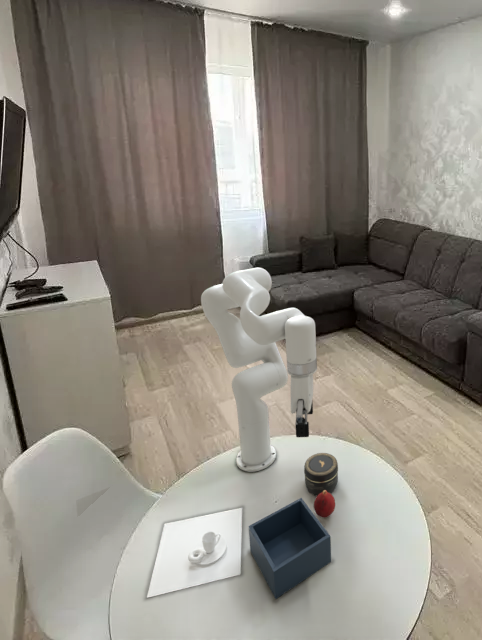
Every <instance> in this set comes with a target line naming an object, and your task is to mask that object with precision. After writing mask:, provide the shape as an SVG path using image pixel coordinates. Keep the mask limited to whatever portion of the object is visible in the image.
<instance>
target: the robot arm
mask: <svg viewBox="0 0 482 640" xmlns="http://www.w3.org/2000/svg"><path fill="white" fill-rule="evenodd" d="M272 284H273V280H272V277H271V274H270V272H268V271H267V270H266V269H264V268H263V267H252V268H247V269H242V270H236V271H233V272H231V273H228V274H227V275H226V276H225V277H224V278H223V280H222V283H221V284H217V285H216V284H215V285H213V286H210V287H208V288H206V289H205V290H204V291H203V292H202V293H201V296H200V303H201V308H202V311H203V313H204V315H205V318H206V320H207V321H208V322H209V323H210V324H211V326H212V327H213V329H214V330H215V332H216V334H217V337H218V340H219V343H220V345H221V348H222V351H223V355H224V357H225V359H226V361H227V363H228V365H229V366H230V367H231V368H232V369H233V368H235V369H238V368H242V367H245V366H246V367H247V366H249V365H251V364H254V363H257V362H259V361H262V363H261V364H258V365H254V366H251V367H249V368H246V369H244V370H241V371H240V372H238V373H237V374H235V376H233V378H232V381H231V388H232V393H233V397H234V400H235V406H236V413H237V414H236V415H237V422H238V423H237V424H238V436H239V445H240V446H239V448H240V451H238V453H237V455H236V459H235V461H236V462H235V463H236V466H237V467H238V468H239V470H241V471H245V472H250V473H252V472H253V473H254V472H260V471H262V470H264V469H267V468H268V467H269V466H271V465H272V464H273V463H274V462H275V460H276V459H277V451H276V447H274V446H273V445H272V444H271V429H270V428H271V427H270V426H271V425H270V413H269V412H270V411H269V407H268V405H267V404H268V403H266V402H265V401H264V400H263V399H262V398H263V397H264V396H267V395H268V394H271V393H273V392H276V391H278V390H281V389H282V388H284V387H285V386H286V385H287V384H288V381H289V376H290V385H289V386H290V387H289V388H290V389H289V390H290V413H291V414H295V437H296V438H309V436H310V426H309V425H310V423H309V421H308V415H313V413H314V403H313V402H314V401H313V399H314V398H313V397H314V374H315V373H316V372H317V371H318V359H317V358H318V357H317V336H316V334H317V333H316V322H315V320H314V318H312V317H311V316H307V315H305V314H304V313H303V312H302V311H301V310H300V309H298V308H296V307H288V308H284V309H280V310H276V311H273V312H270V313H267V314H263V313H264V312H265V311H266V309H267V308H268V306H269V305H270V302H271V295H270V293H269V292H270V290H271V289H272V286H273V285H272ZM235 308H240V311H239V317H238V316H237V315H235V314H234V313H233V312H230V311H228V310H232V309H235ZM262 314H263V315H262ZM283 340H285V351H286V352H285V354H286V365H285V362H284V360H283V357H282V355H281V353H280V351H279V348H278V345H277V342H281V341H283ZM288 375H289V376H288Z"/></svg>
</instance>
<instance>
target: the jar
mask: <svg viewBox="0 0 482 640" xmlns="http://www.w3.org/2000/svg"><path fill="white" fill-rule="evenodd" d="M303 472H304V485H305V488H306V490H307V491H308V493H309V494H311V496H315V497H317V496H318V495H319V494H320V493H322V492H323V491H324V490H326V491H327V492H328V493H330V494H332V493H333V492H334V491H335V489H336V488H337V485H338V482H339V481H338V480H339V476H338V475H339V463H338V460H337V458H336V457H335V456H334V455H333V454H331V453H327V452H318V453H315V454H312V455H310V456H309V457H308V458H307V459H306V460H305V462H304V466H303Z"/></svg>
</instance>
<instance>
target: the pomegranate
mask: <svg viewBox="0 0 482 640" xmlns="http://www.w3.org/2000/svg"><path fill="white" fill-rule="evenodd" d="M335 509H336V500H335V497H334V496H333V494H332V493H328V492H327V491H326V490H324V491H323V492H322V493H320V494H319V495H318V496H315V499H314V502H313V510H314V513H315V514H316V516H318V517H319V518H322V519H323V518H324V519H325V518H329V517H330V516H332V514H333V513H334V511H335Z"/></svg>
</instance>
